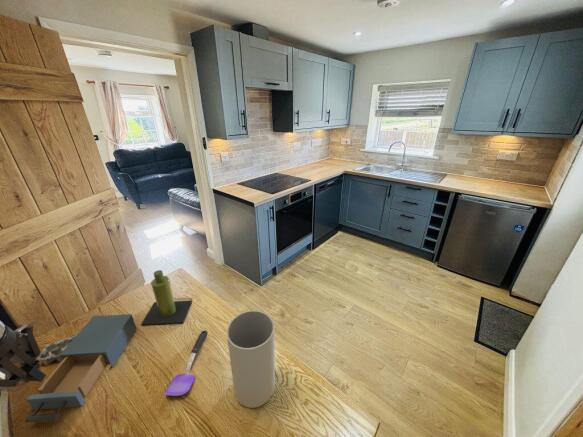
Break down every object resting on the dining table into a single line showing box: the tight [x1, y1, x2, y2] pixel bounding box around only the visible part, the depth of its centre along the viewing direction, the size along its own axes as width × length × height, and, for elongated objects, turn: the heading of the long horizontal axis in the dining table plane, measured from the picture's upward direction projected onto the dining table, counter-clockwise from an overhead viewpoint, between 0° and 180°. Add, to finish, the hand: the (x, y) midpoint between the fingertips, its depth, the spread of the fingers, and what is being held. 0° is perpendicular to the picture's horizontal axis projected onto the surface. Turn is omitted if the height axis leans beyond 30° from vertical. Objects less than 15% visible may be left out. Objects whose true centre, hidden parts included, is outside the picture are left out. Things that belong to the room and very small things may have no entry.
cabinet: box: [60, 313, 137, 369], centre depth 83 cm, size 16×14×8 cm
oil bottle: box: [150, 269, 176, 317], centre depth 95 cm, size 6×6×20 cm
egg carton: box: [36, 333, 78, 366], centre depth 82 cm, size 11×8×4 cm
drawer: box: [25, 354, 108, 423], centre depth 70 cm, size 19×12×6 cm, turn 5°
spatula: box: [163, 330, 208, 397], centre depth 80 cm, size 24×7×2 cm, turn 177°
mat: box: [140, 300, 193, 327], centre depth 99 cm, size 16×12×1 cm
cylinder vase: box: [226, 310, 276, 409], centre depth 69 cm, size 12×12×25 cm
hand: (38, 377), depth 61 cm, fingers closed
